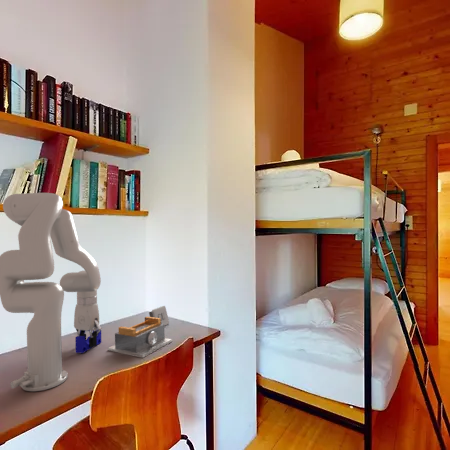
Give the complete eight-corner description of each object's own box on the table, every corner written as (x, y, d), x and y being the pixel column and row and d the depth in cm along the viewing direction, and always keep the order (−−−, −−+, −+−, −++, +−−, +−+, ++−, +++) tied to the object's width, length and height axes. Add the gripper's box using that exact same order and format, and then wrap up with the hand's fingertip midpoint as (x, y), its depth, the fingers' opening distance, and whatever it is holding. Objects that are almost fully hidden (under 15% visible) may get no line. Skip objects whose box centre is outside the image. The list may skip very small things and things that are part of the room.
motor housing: (142, 357, 116) (142, 332, 116) (107, 350, 124) (107, 326, 125) (172, 341, 132) (171, 319, 132) (139, 336, 140) (138, 314, 141)
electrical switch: (157, 329, 149) (155, 309, 150) (149, 329, 151) (147, 309, 152) (169, 324, 157) (167, 305, 158) (161, 323, 160) (160, 305, 160)
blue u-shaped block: (92, 342, 134) (92, 327, 134) (101, 342, 133) (101, 328, 133) (72, 352, 122) (72, 336, 122) (82, 353, 121) (82, 337, 121)
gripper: (64, 301, 129) (65, 345, 128) (94, 304, 121) (94, 351, 120) (80, 297, 135) (81, 340, 135) (109, 300, 127) (110, 345, 127)
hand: (87, 345), depth 127 cm, fingers closed on blue u-shaped block, 5 cm apart
